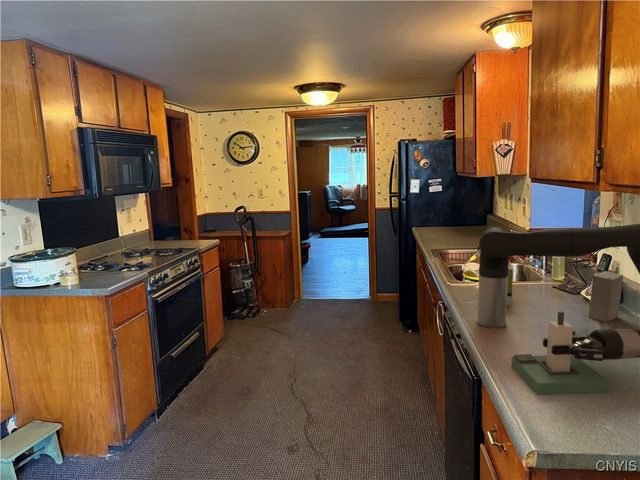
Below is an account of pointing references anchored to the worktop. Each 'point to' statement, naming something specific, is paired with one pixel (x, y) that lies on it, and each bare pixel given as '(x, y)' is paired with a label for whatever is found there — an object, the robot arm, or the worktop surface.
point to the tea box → (509, 285)
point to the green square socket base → (558, 376)
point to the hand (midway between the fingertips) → (548, 346)
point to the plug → (558, 336)
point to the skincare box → (605, 296)
